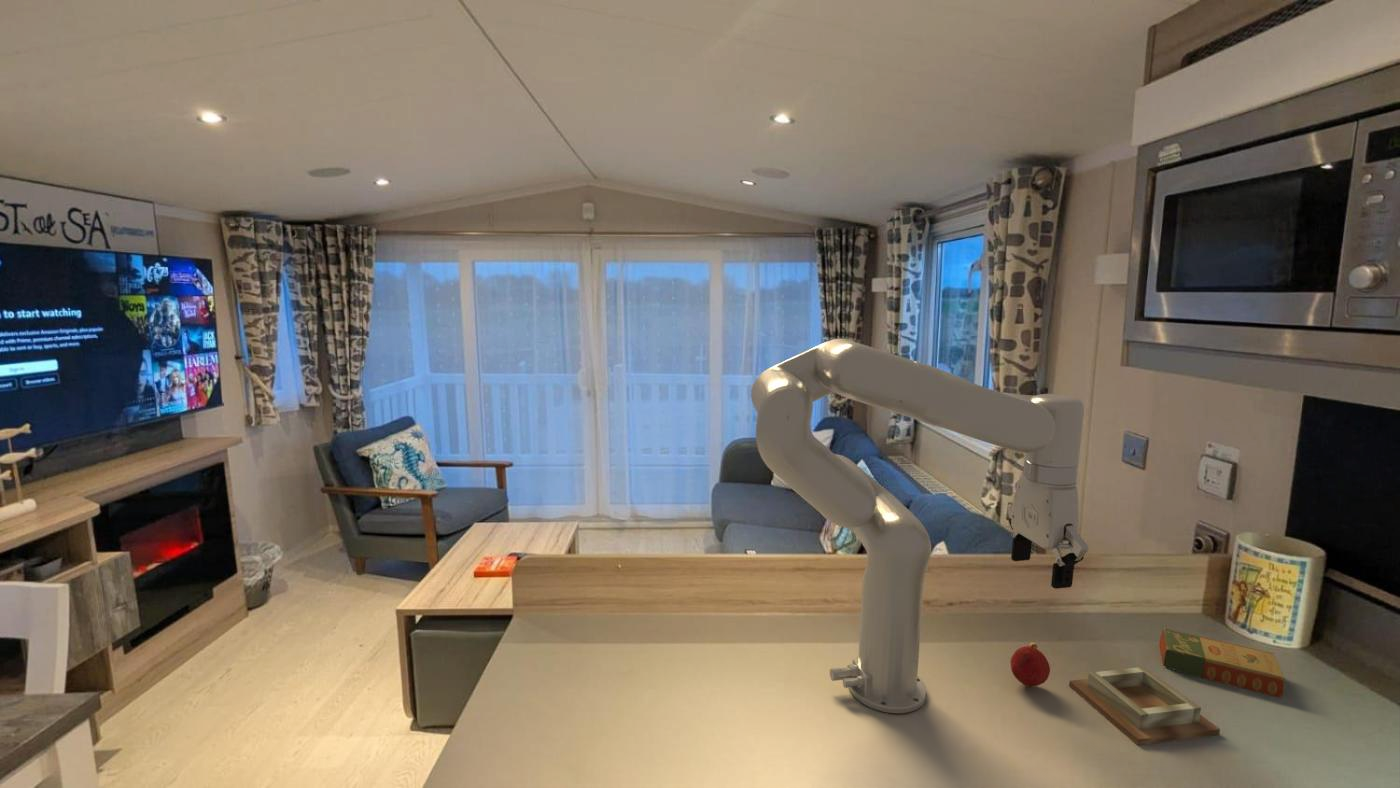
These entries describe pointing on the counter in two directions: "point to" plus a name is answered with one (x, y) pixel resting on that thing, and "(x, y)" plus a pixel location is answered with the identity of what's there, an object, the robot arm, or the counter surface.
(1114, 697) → the holder
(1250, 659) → the carton
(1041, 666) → the onion
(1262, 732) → the counter surface
